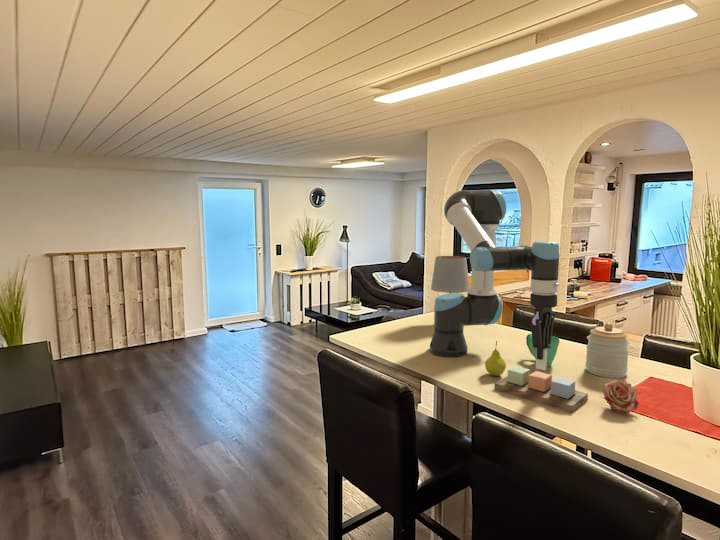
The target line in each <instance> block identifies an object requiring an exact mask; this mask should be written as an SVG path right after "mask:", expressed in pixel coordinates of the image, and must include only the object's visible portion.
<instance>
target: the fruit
mask: <svg viewBox="0 0 720 540" xmlns="http://www.w3.org/2000/svg"><path fill="white" fill-rule="evenodd" d="M497 344H498V341H497V340H496V341H495V348H494V350H493V351H492V352H491V355H490V356H488V358H487V359H486V360H485V362H484V366H485V370H486V372H488V374H489V375H491V376H492V377H498V376H500V375H503V374H504V372H505V370H506V368H507V367H506V366H507V365H506V361H505V359H503V357H502V356H501V353H500V351H499V350H498V349H497Z"/></svg>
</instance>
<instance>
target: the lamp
mask: <svg viewBox="0 0 720 540" xmlns="http://www.w3.org/2000/svg"><path fill="white" fill-rule="evenodd" d="M430 289H431V291H434V292H437V293H444V294H449V293H465V292H466V293H467V292H468V290H469V289H471V287H470V281H469V271H468V263H467V257H466V256H461V255H439V256H438V255H437V256H435V260H434V266H433V273H432V279H431V287H430Z"/></svg>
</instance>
